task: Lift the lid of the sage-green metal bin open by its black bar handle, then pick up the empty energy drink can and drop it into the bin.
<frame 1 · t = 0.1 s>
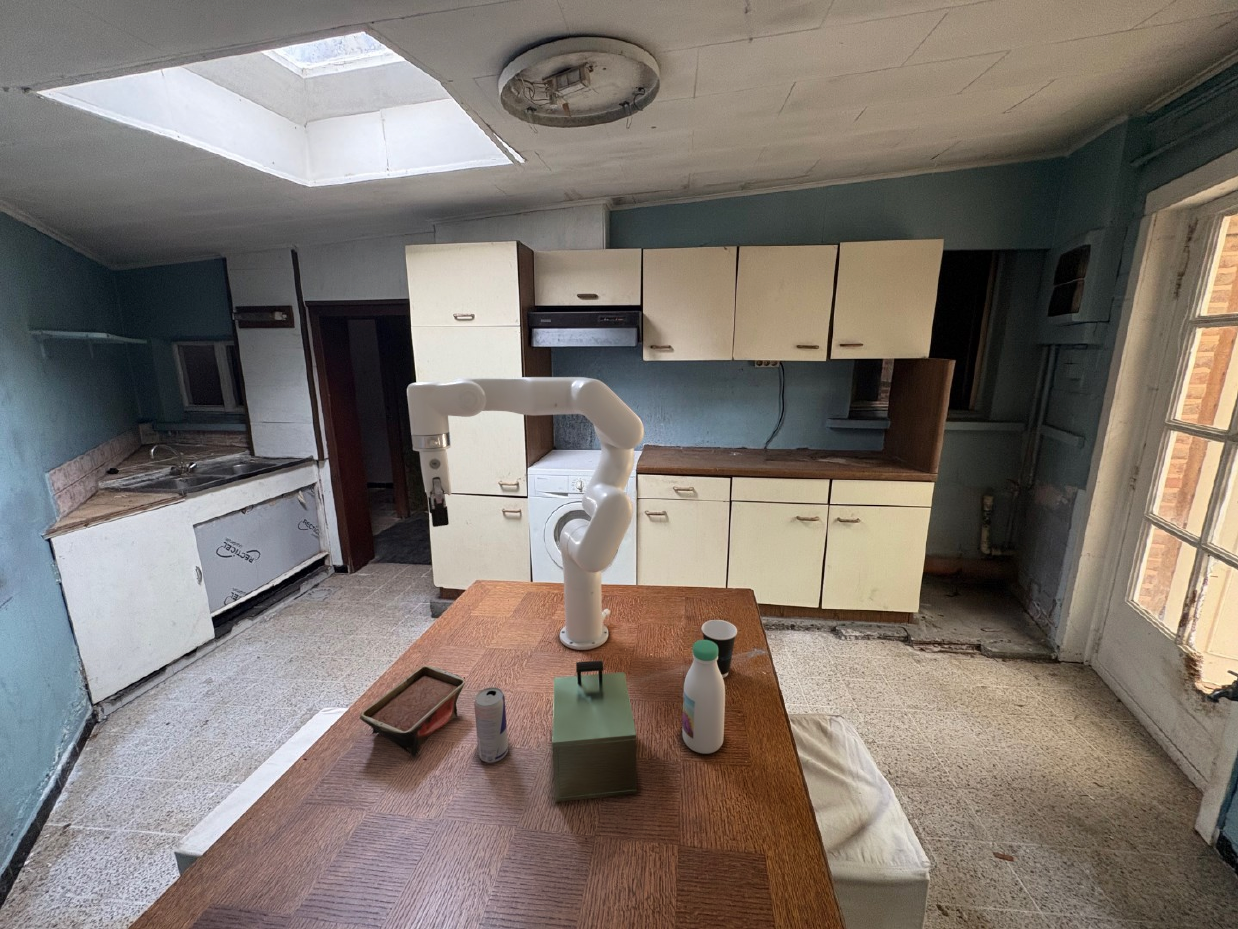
hand: (438, 518, 109), 37 cm above the table, tool pointing down, fingers open, 9 cm apart
energy drink: (493, 753, 93), on the table
dixie cup: (717, 672, 115), on the table
bin: (593, 760, 91), on the table
milk bottle: (702, 740, 96), on the table
rectangular footed planter: (417, 726, 100), on the table
bin lid: (591, 695, 88), point 13 cm above the table, hinge at 0.0°
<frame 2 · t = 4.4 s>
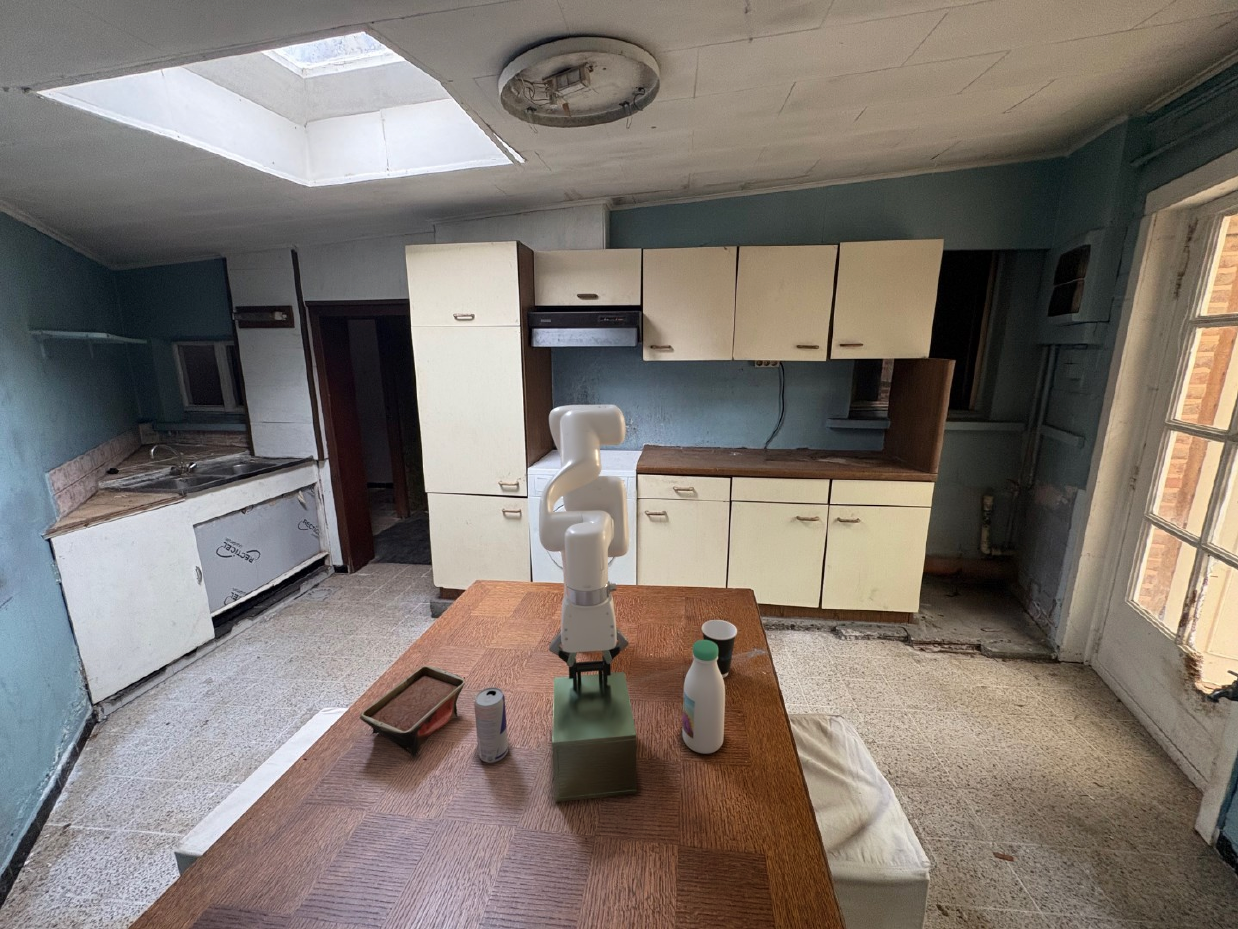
hand: (589, 678, 94), 12 cm above the table, tool pointing down, fingers closed on bin lid, 5 cm apart
bin lid: (591, 695, 88), point 13 cm above the table, hinge at 0.0°, touching gripper
everything else where it was.
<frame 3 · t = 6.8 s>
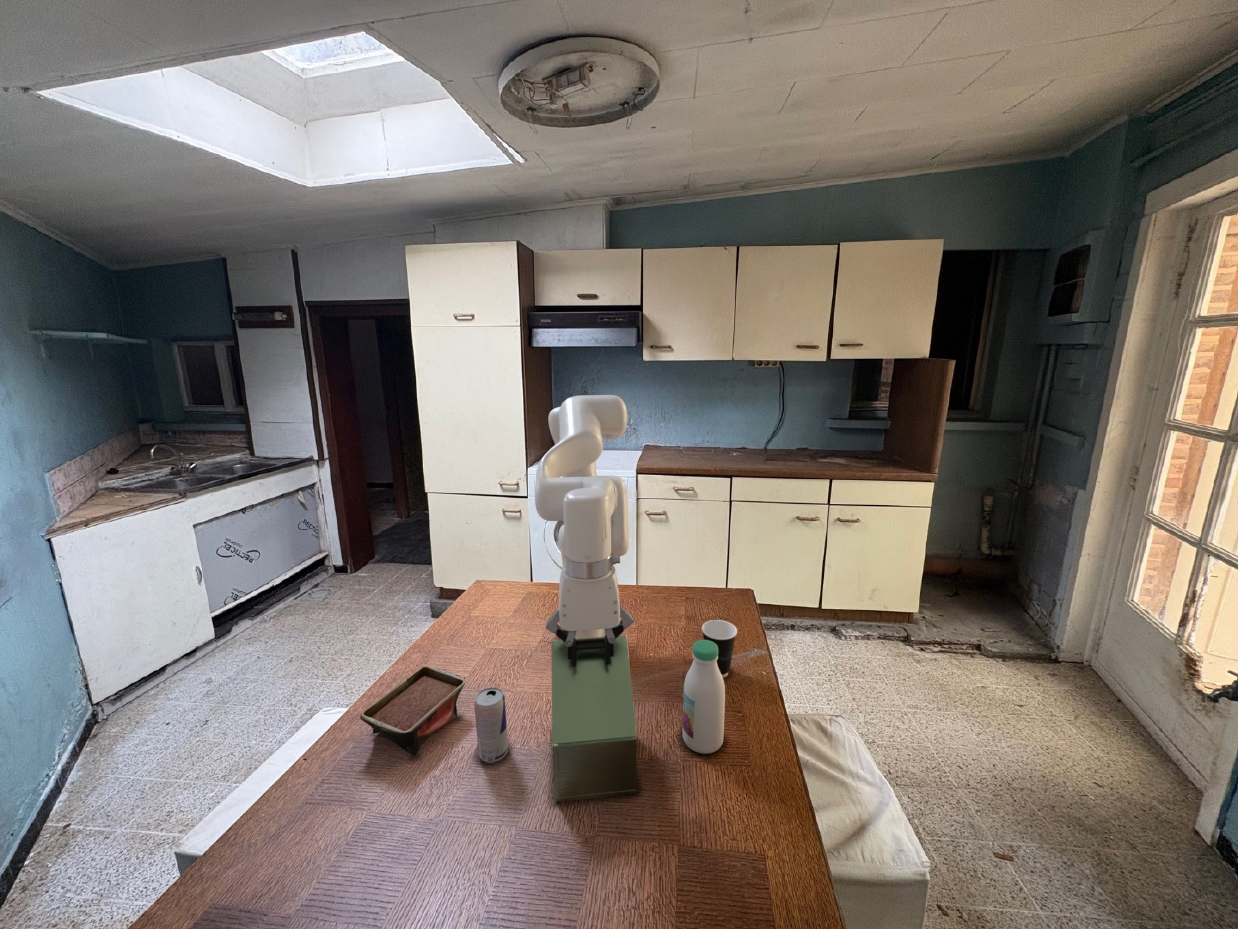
hand: (590, 660, 86), 21 cm above the table, tool pointing down, fingers closed on bin lid, 5 cm apart
bin lid: (592, 683, 84), point 18 cm above the table, hinge at 40.4°, touching gripper
everything else where it was.
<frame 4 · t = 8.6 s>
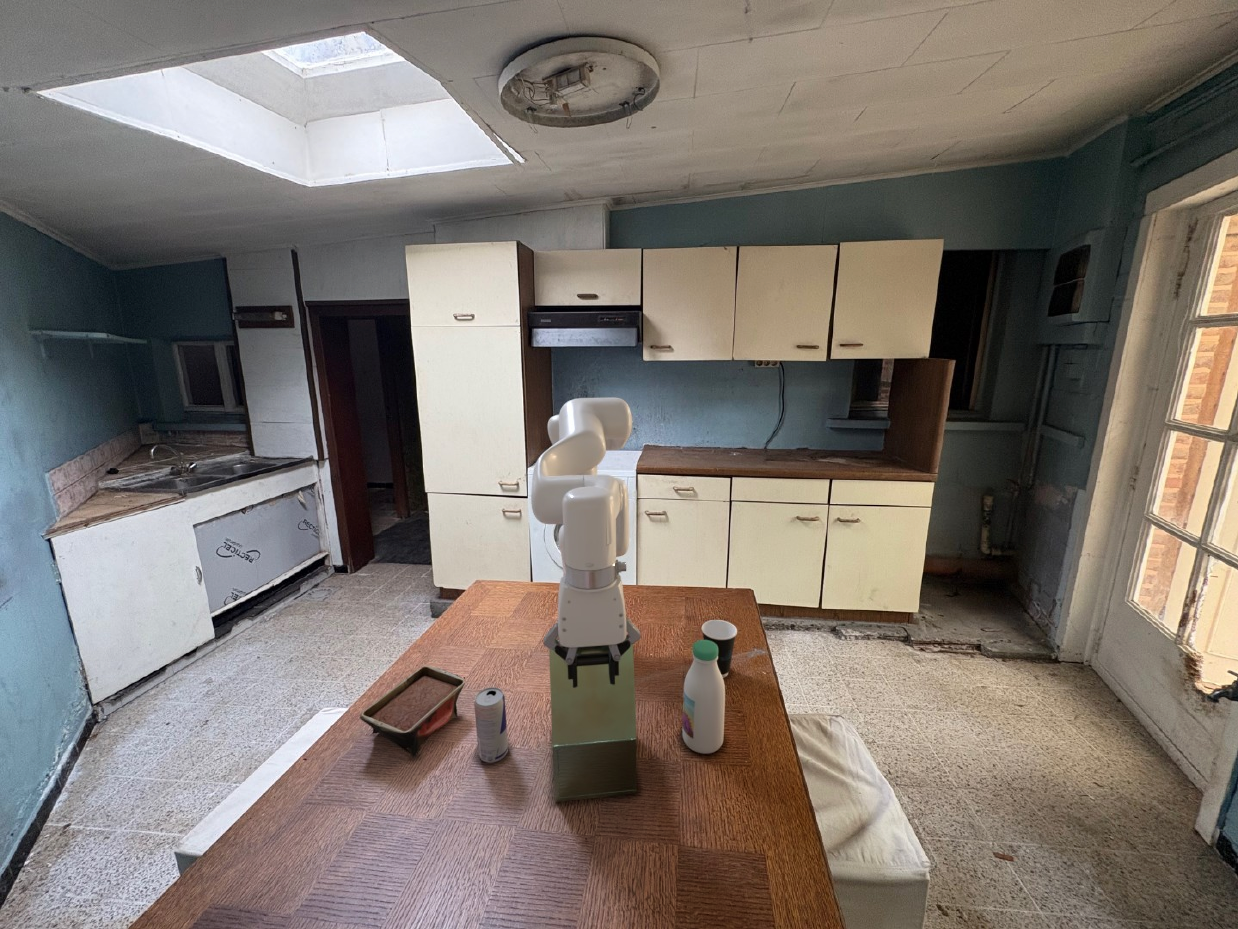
hand: (593, 679, 77), 23 cm above the table, tool pointing down, fingers closed on bin lid, 5 cm apart
bin lid: (593, 694, 79), point 20 cm above the table, hinge at 74.4°, touching gripper
everything else where it was.
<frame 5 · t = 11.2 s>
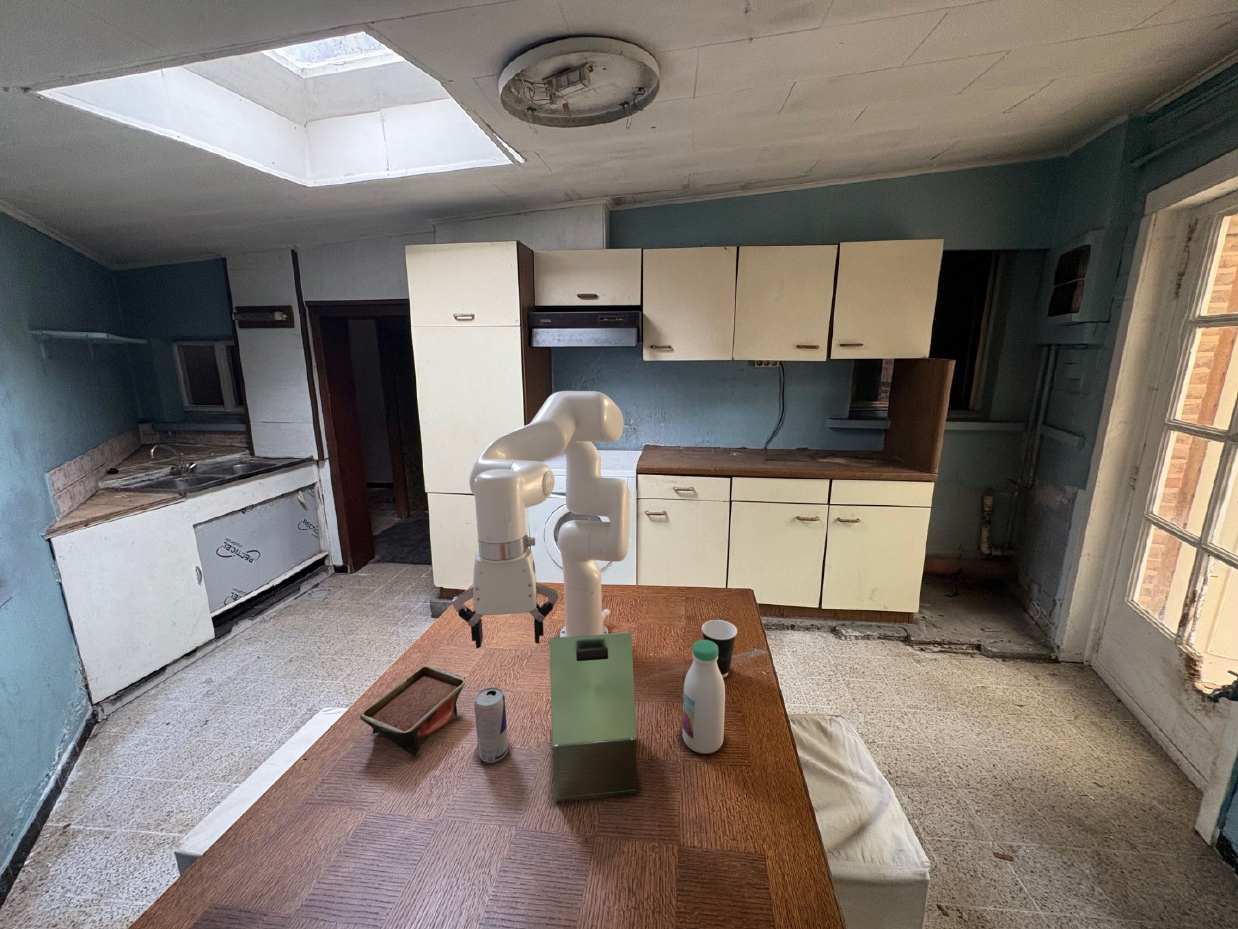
hand: (508, 641, 84), 25 cm above the table, tool pointing down, fingers open, 9 cm apart
bin lid: (593, 691, 80), point 20 cm above the table, hinge at 68.6°
everything else where it was.
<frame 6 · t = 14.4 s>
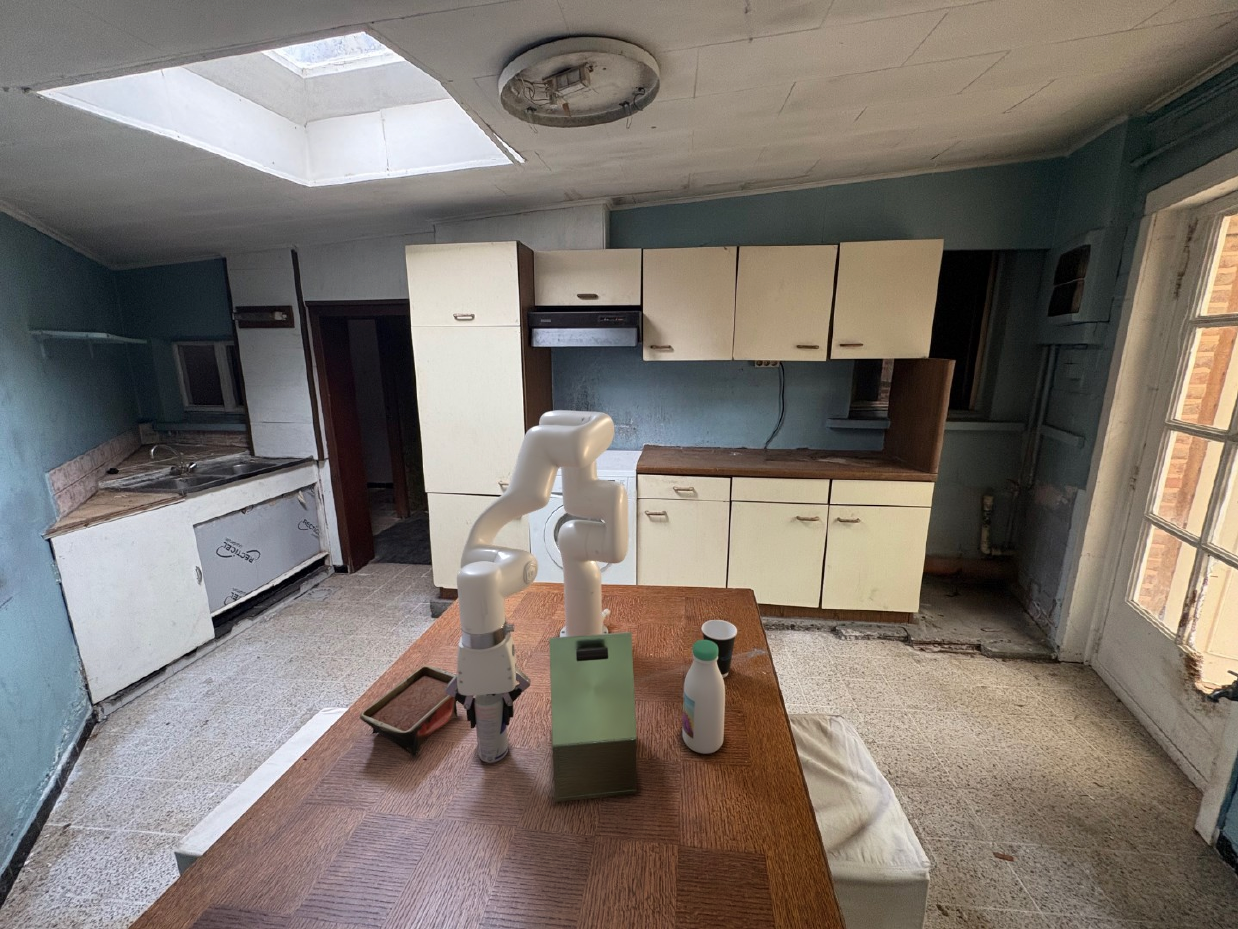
hand: (491, 720, 91), 7 cm above the table, tool pointing down, fingers closed on energy drink, 5 cm apart
energy drink: (493, 753, 93), on the table, touching gripper
everything else where it was.
when the fingers open (15 cm above the table, at t = 21.3 s): energy drink drops 7 cm, resting on bin.
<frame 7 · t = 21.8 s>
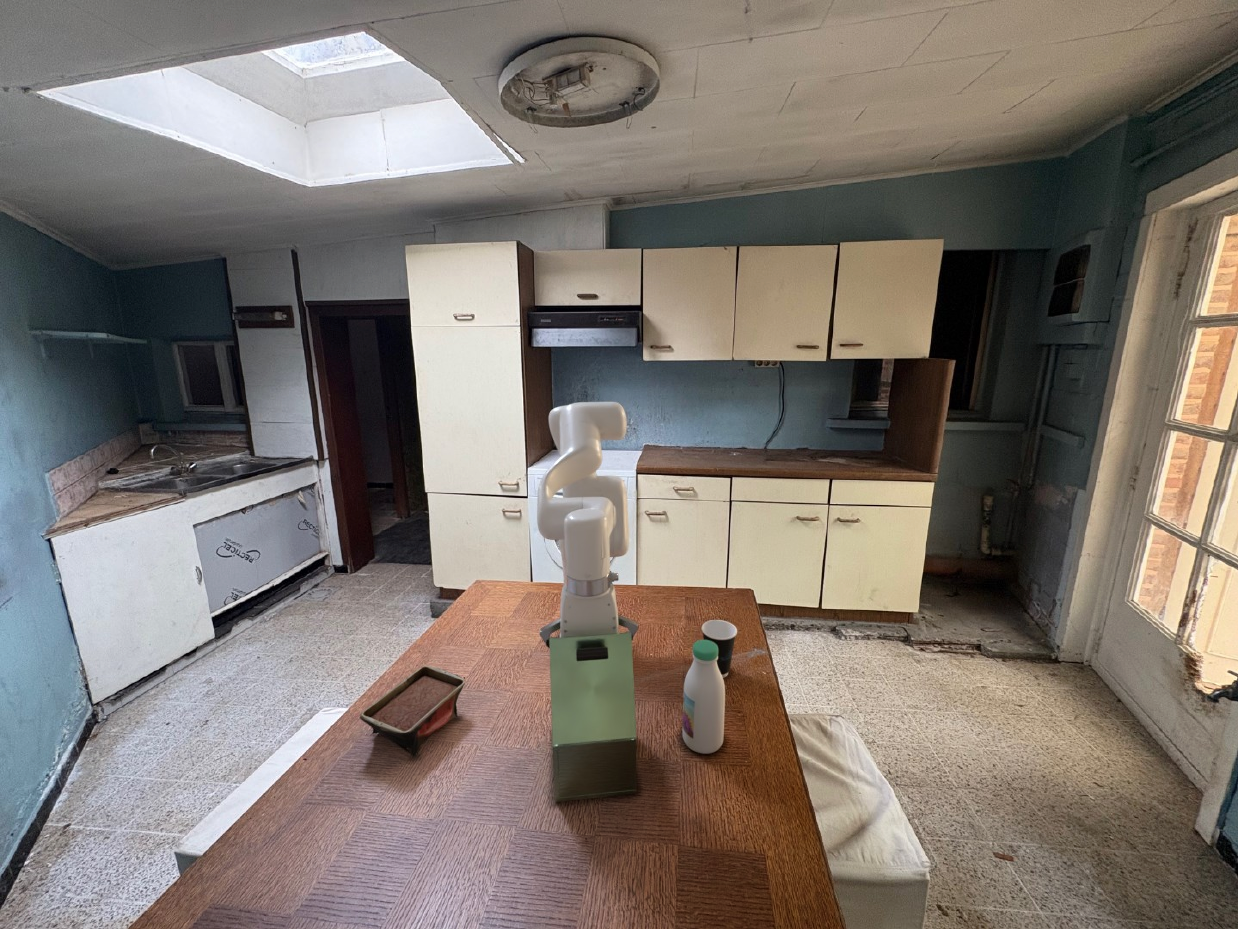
hand: (590, 669, 90), 17 cm above the table, tool pointing down, fingers open, 9 cm apart
energy drink: (592, 743, 93), point 1 cm above the table, touching bin
everything else where it was.
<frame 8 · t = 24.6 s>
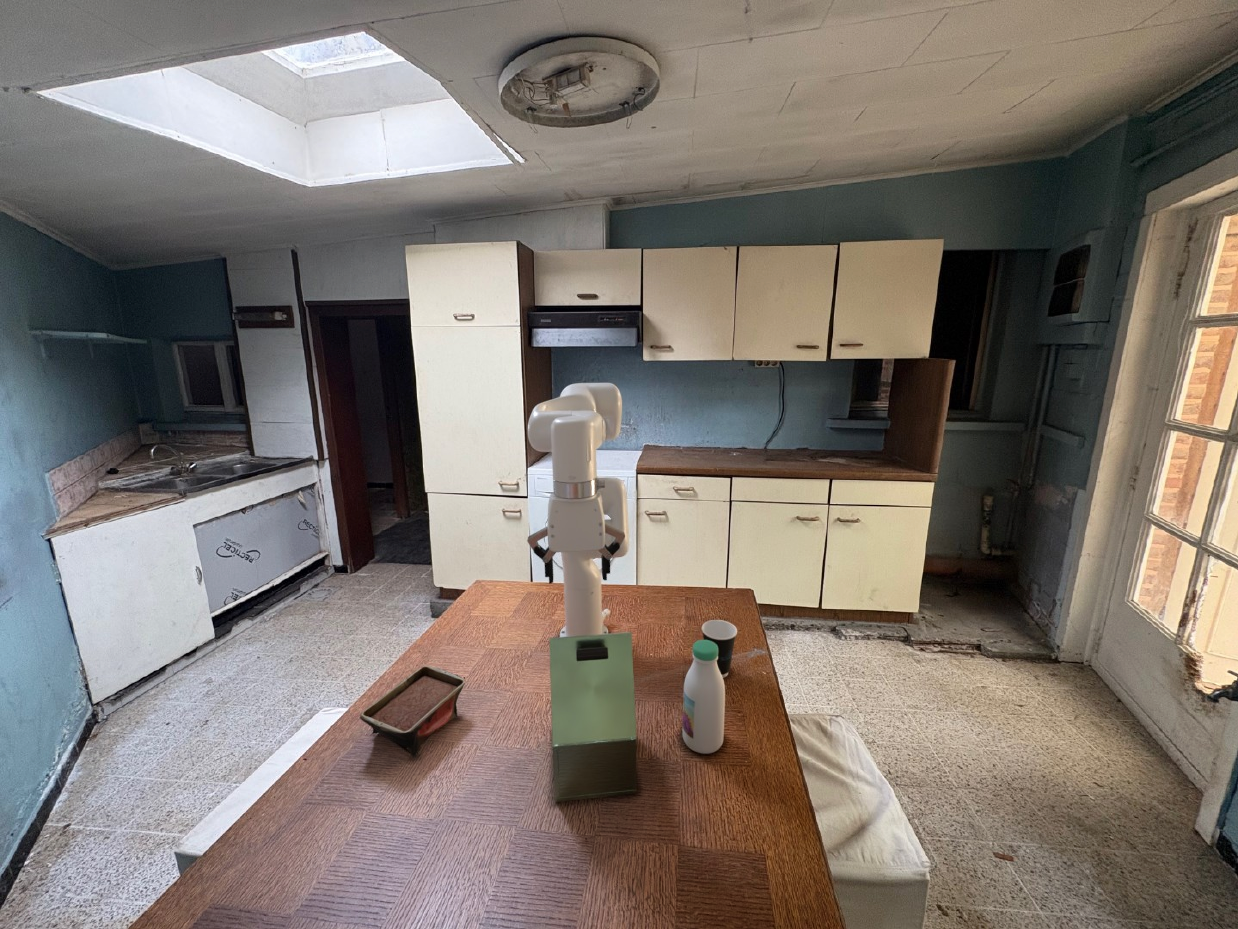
hand: (577, 578, 91), 32 cm above the table, tool pointing down, fingers open, 9 cm apart
at the end: bin lid at +69° (first picture: +0°); energy drink inside the target area in the bin (2.6 cm from its centre), point 0.6 cm above the bin's base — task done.
